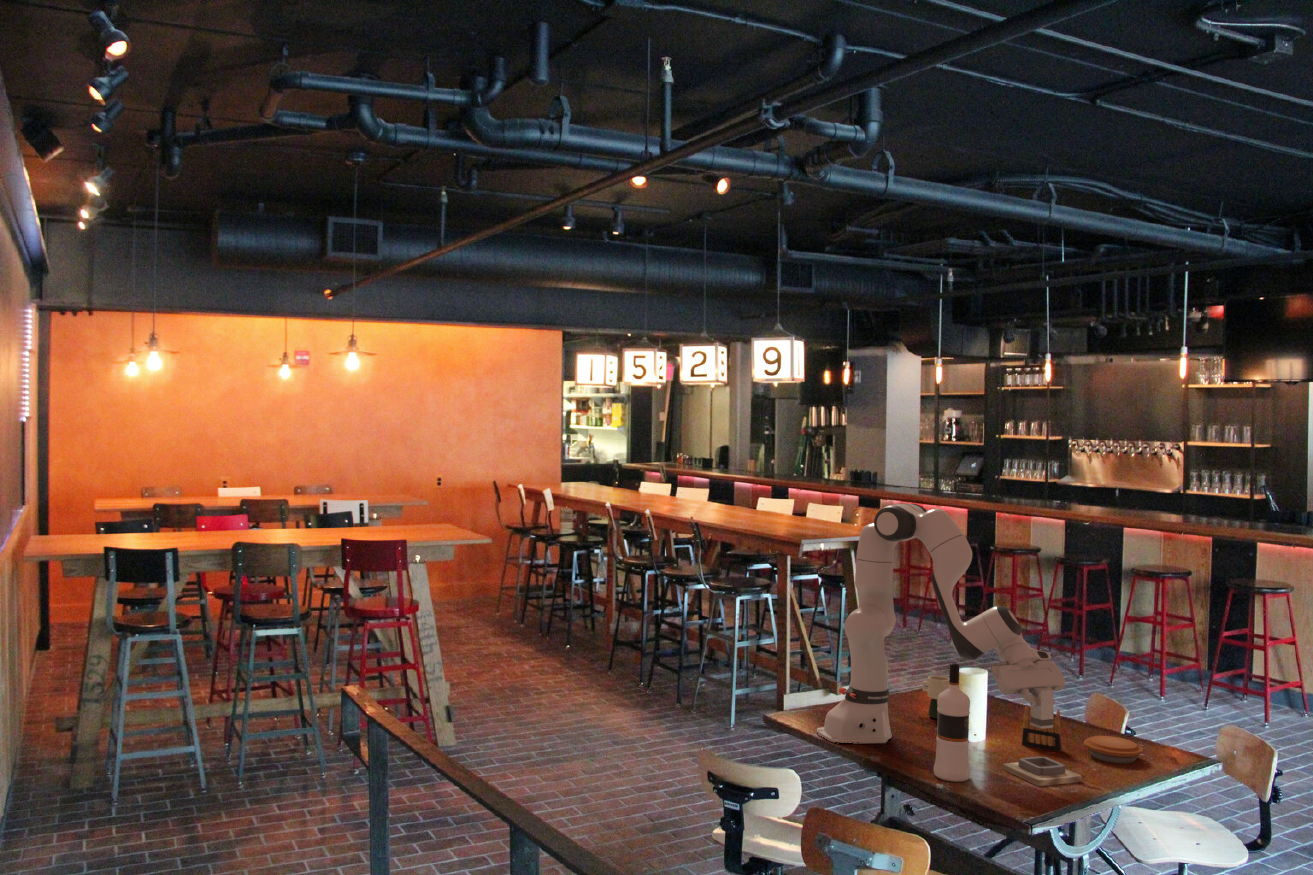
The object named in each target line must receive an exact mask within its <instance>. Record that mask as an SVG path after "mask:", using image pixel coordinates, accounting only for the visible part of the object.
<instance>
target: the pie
mask: <svg viewBox="0 0 1313 875" xmlns="http://www.w3.org/2000/svg"><path fill="white" fill-rule="evenodd" d="M1083 745H1084V746H1085V747H1086V748H1087V749H1088V751H1089V752H1090V755H1091V756H1092V757H1093V758H1095V759H1097V760H1100V761H1103V762H1107V763H1111V764H1122V765H1125V764H1126V765H1127V764H1132V763H1134V762H1135V761H1136V760H1137V758H1138V757H1139V756H1140V755H1141V754H1142V753H1143V751H1144V748H1143V747H1141V746H1140V745H1139V744H1137V743H1136V742H1134V741H1132V740H1129V739H1126V738H1122V737H1117V736H1110V735H1095V736H1094V735H1093V736H1090V737H1088V738H1086V739H1084V741H1083Z"/></svg>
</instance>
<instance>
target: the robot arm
mask: <svg viewBox="0 0 1313 875" xmlns="http://www.w3.org/2000/svg"><path fill="white" fill-rule="evenodd" d="M916 539H918V540H920V541H921V542H922V543H923V544H924V546H925V548H926V550H927V551H928V553H929V554H930V558H931V559H932V563H933V572H932V573H931V574H930V578H931V580H930V581H931V583H932V584H931V585H932V588H933V590H934V593H935V597H936V599H937V601H938V605H939V607H940V610H941V613H942V616H943V619H944V620H945V623H946V627H947V628H948V629H947V630H948V631H949V635H950V639H951V644H952V646H953V648H954V650H955V651H956V653H957V654H958V655H959V656H960V657H961V658H963V659H965V660H966V659H967V660H972V661H975V660H977V659H979V658H981V656H983V655H985V653H988V652H990V651H991V650H993V649H995V650H996V652H997V656H998V658H999V660H1000V662H993V663H992V665H991V666H990V670H991V672H992V674H993V677H994V680H995V682H996V685H997V688H998V690H999V691H1000V693H1001V694H1003V695H1005V696H1010V695H1012V696H1013V695H1021V697H1022V698H1023V699H1024V700H1026V702H1028V704H1029V705H1030V708H1031V707H1036V706H1037V705H1038V704H1039V702H1038V701H1037V699H1036V698H1033V697H1032V696H1031V688H1037V687H1045V688H1048V689H1051V690H1053V692H1058V691H1061V690H1063V688H1064V687H1065V686H1066V684H1067V683H1066V678H1065V676H1064V675H1063V673H1062V671H1061V670H1060V668H1059V667H1058V665H1057V664H1056V663H1055V662H1053V660H1051V659H1052V656H1051V654H1050V653H1049V652H1047V651H1043V650H1038V649H1037V648H1033V647H1030V645H1029V643H1028V642H1027V641H1026V640H1025V639H1024V636H1023V632H1022V629H1023V627H1022V625H1021V624H1020V622H1019V620H1018V619H1017V617H1016V615H1015V613H1014V611H1013V610H1012V609H1010V608H1009V607H1006V606H1002V605H996V606H993V607H990V608H989V609H986V610H985V611H983V612H982V613H980V614H978V615H976V616H974V617H972V618H970V619H969V620H967V621H963V620H962V618H961V616H960V613H959V611H958V608H957V605H956V603H955V600H954V596H953V592H954V588H955V586H956V585H957V582H958V581H959V580H960V579H961V578H962V577H963V575H964V574H965V573H966V572H967V570H968V569H969V567H970V565H971V563H972V560H973V550H972V548H971V545H970V544H969V542H968V540H967V538H966V536H965V534H964V532H963V531H962V529H961V528H960V527H959V525H958V524H957V523H956V522H955V521H954V519H953V518H952V517H951V516H950V514H948V512H946V511H945V510H944V509H942V508H932V509H928V510H927V509H926V508H925V507H923V506H922V505H919V504H916V503H908V502H907V503H906V502H904V503H903V502H902V503H897V504H889V505H886V506H884V507H882V508H880V509H879V511H878V512H877V513H876V514H875V516H874V520H873V522H871V523H869V524H866V525H864V526H863V527H862V529H861V531H860V534H859V539H858V544H857V551H856V561H855V575H854V585H855V587H856V593H857V601H858V608H856V609H854V610H853V611H852V612H850V614H849V615H848V616H847V618H846V619H845V622H844V627H843V628H844V633H845V636H846V638H847V642H848V648H849V654H850V656H849V657H850V684H849V686H848V687H847V688H845V687H844V686H840V687H839V688H838V690H837V691H838V693H839V694H841V695H842V696H843V695H844V699H842V700H841V701H840V702H839V703H838V704H837V705H835V706H833V707H832V709H830V710H829V711H828V712H827V713H826V715H825V720H824V725H823V726H822V727H817V728H816V734H817V733H818V734H817V735H818V736H820V737H821V736H822V737H821V738H823V737H824V738H825V740H826V739H827V741H828V742H832V743H835V742H842V743H844V742H845V743H847V742H848V743H852V742H854V743H853V744H887V743H888V740H889V739H892V737H893V735H892V731H891V730H892V729H891V727H890V720H889V709H888V708H889V707H888V706H889V703H890V702H889V701H890V689H889V687H888V685H889V684H888V682H889V661H888V659H887V655H886V650H885V649H886V647H885V638H887V637H888V636H889V635H890V634H891V633H892V632H893V630H894V628H895V626H896V624H897V623H896V622H897V617H896V614H895V606H894V596H893V579H894V578H893V577H894V576H893V575H894V559H895V549H896V546H897V545H898V543H899V542H908V541H911V540H916ZM1055 703H1056V700H1055V699H1054V698H1053V705H1055ZM824 738H823V739H824ZM857 742H859V743H857ZM886 742H887V743H886Z"/></svg>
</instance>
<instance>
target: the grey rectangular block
mask: <svg viewBox="0 0 1313 875" xmlns="http://www.w3.org/2000/svg"><path fill="white" fill-rule="evenodd" d="M1030 695H1031V696H1032V697H1033V698H1036V699H1037V701H1038V702H1039V704H1038V705H1037V706H1036V707H1031V706H1030V715H1031V720H1030V719H1029V723H1030V722H1031V725H1032V726H1035V728H1036V727H1038V728H1040V729H1044V728H1053V723H1054V724H1055V718H1054V719H1053V712H1054V704H1053V699H1054V691H1053V690H1051V689H1048V688H1045V687H1037V688H1031V693H1030Z"/></svg>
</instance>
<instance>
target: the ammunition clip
mask: <svg viewBox="0 0 1313 875" xmlns="http://www.w3.org/2000/svg"><path fill="white" fill-rule="evenodd" d="M1029 713H1030V710H1029V706H1028V704H1026V705H1025V707H1024V714H1023V722H1022V724H1023V727H1022V738H1021V739H1022V740H1021V745H1022V746H1024V747H1025V746H1026V747H1030V748H1031V747H1032V748H1036V749H1042V750H1047V751H1048V750H1049V751H1053V752H1061V751H1062V734H1061V733H1062V732H1061V731H1062V723H1061V713H1060V709H1057V711H1056V715H1055V714H1054V711H1053V719H1054V720H1055V721H1054V723H1053V728H1044V729H1040V728H1038V727H1035V726H1032V725H1031V722H1030V720H1031V714H1029Z"/></svg>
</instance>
